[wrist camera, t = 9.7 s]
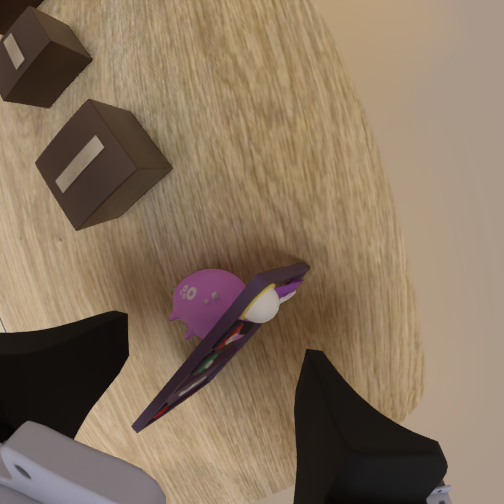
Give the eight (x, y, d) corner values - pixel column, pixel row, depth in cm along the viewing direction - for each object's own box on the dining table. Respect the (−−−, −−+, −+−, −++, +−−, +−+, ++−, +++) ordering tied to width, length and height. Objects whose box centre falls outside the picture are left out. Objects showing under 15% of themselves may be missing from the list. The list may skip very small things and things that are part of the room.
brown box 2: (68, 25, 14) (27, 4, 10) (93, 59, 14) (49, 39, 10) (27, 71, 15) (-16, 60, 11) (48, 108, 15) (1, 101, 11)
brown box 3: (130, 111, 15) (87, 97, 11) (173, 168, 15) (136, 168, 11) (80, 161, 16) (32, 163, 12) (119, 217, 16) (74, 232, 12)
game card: (147, 447, 11) (284, 299, 9) (74, 358, 13) (167, 191, 10) (218, 391, 18) (322, 276, 15) (158, 329, 19) (245, 209, 17)
